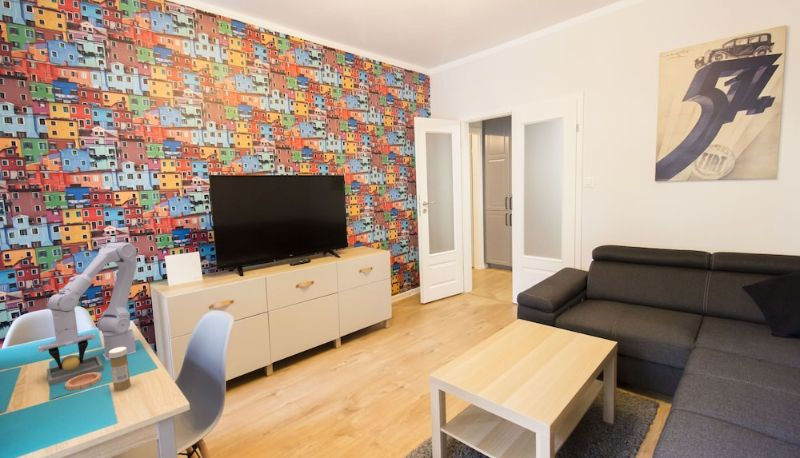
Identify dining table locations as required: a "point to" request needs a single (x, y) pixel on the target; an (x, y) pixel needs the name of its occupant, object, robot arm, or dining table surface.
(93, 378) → the copper shallow bowl
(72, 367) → the ball
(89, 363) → the tray
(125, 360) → the sprinkles bottle
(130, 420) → the dining table surface
